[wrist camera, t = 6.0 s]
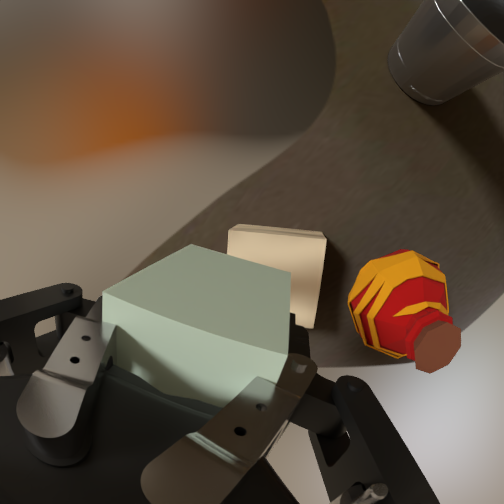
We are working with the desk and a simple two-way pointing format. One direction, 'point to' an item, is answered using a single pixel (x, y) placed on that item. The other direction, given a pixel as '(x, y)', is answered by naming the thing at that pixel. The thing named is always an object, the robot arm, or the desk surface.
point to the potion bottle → (405, 309)
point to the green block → (201, 324)
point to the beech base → (286, 261)
